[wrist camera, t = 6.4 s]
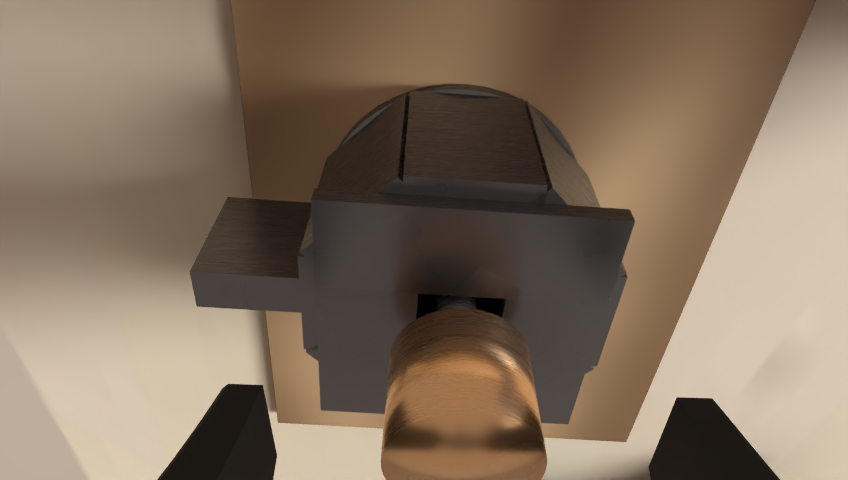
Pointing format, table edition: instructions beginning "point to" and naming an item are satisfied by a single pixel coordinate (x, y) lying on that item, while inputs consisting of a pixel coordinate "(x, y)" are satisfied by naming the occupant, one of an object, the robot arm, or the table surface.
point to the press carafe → (431, 243)
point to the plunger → (461, 399)
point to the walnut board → (558, 100)
